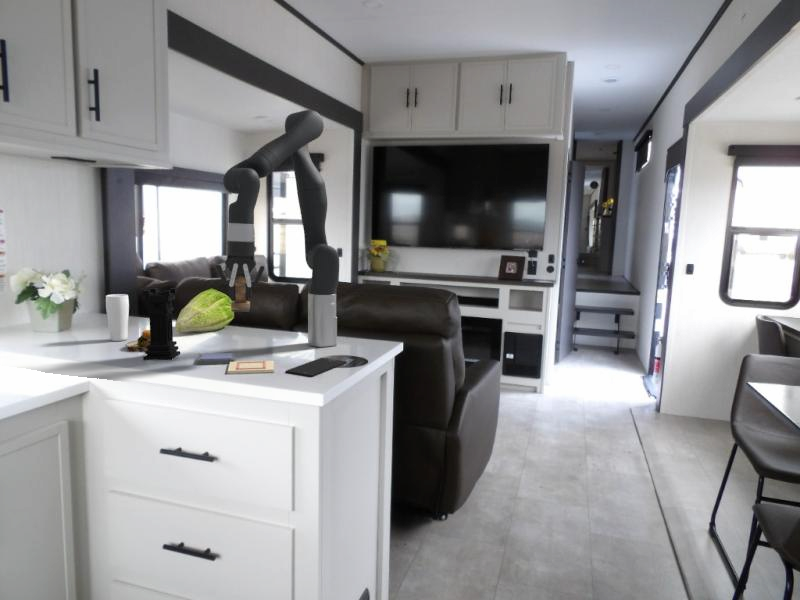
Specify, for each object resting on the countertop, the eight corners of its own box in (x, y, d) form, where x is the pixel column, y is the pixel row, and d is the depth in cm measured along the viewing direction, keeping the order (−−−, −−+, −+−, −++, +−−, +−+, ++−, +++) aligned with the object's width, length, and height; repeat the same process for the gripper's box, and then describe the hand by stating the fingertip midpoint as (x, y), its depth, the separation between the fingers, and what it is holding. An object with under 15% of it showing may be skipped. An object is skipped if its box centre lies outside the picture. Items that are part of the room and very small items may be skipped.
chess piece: (153, 353, 167) (150, 287, 164) (180, 353, 168) (178, 288, 165) (143, 359, 159) (140, 290, 157) (171, 360, 160) (169, 291, 157)
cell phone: (347, 364, 162) (347, 361, 162) (311, 378, 146) (311, 375, 146) (321, 360, 166) (321, 357, 166) (284, 374, 150) (284, 370, 150)
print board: (273, 363, 159) (273, 359, 159) (274, 372, 150) (273, 368, 149) (230, 364, 156) (230, 361, 156) (227, 373, 147) (227, 370, 147)
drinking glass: (102, 340, 183) (100, 295, 181) (119, 337, 189) (118, 293, 187) (117, 342, 180) (115, 297, 178) (134, 339, 186) (133, 295, 184)
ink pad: (235, 357, 165) (235, 352, 165) (234, 363, 158) (234, 358, 158) (200, 357, 163) (200, 353, 163) (196, 364, 155) (196, 359, 155)
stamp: (249, 309, 163) (250, 274, 162) (249, 311, 158) (249, 275, 157) (232, 309, 162) (232, 273, 161) (231, 311, 157) (231, 275, 156)
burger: (153, 343, 183) (152, 320, 182) (174, 348, 176) (173, 325, 175) (117, 348, 173) (116, 325, 172) (138, 354, 166) (137, 330, 165)
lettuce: (203, 350, 193) (170, 351, 200) (244, 317, 213) (213, 318, 220) (187, 313, 188) (154, 315, 194) (231, 282, 208) (199, 285, 214)
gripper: (266, 240, 163) (265, 298, 165) (216, 238, 160) (215, 297, 162) (266, 241, 156) (265, 301, 158) (213, 239, 152) (213, 301, 154)
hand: (240, 299), depth 160 cm, fingers closed on stamp, 3 cm apart
